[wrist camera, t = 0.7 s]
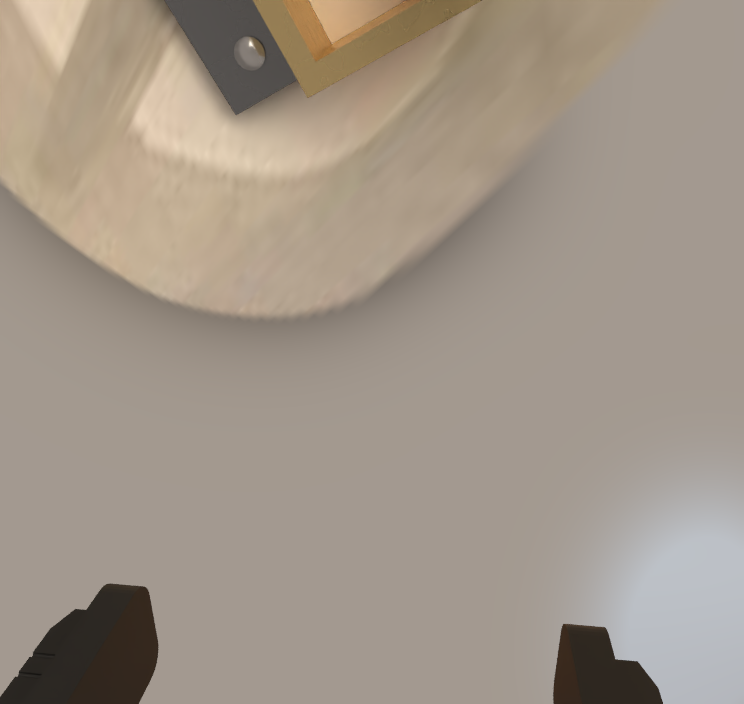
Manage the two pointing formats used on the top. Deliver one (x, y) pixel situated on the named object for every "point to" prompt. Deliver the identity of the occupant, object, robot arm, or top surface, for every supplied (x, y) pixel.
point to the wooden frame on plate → (293, 42)
